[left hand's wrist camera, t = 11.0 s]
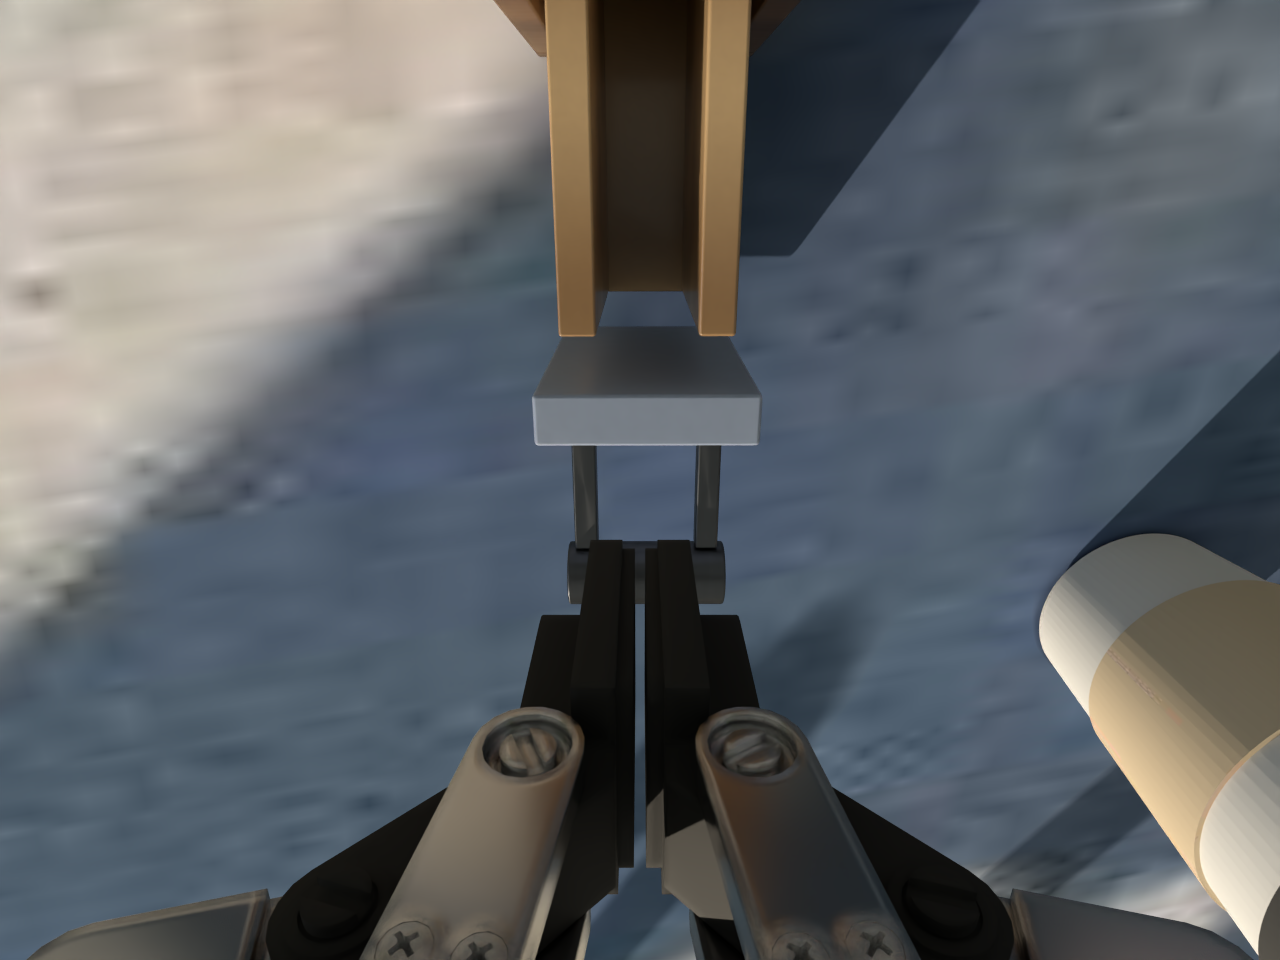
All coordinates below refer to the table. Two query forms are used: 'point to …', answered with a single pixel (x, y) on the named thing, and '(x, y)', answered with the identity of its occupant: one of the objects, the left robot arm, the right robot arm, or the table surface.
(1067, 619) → the coffee cup
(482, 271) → the table surface
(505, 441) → the table surface
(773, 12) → the brown wooden block
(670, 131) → the drawer
